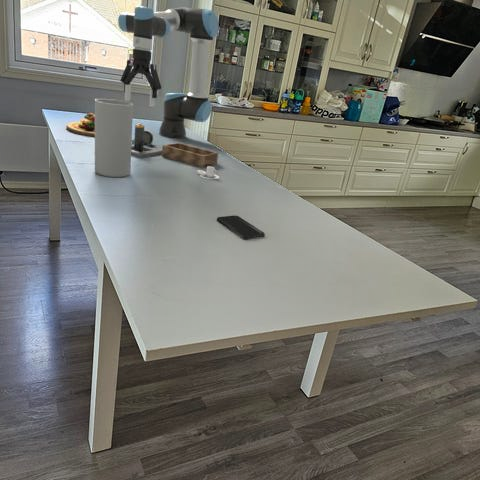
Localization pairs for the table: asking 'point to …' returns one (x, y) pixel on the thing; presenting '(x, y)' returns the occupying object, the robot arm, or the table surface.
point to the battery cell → (139, 137)
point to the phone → (240, 227)
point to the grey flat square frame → (145, 152)
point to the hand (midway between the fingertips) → (139, 103)
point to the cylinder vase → (113, 137)
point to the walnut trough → (190, 154)
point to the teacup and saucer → (208, 172)
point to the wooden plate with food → (84, 126)
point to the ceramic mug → (147, 138)
